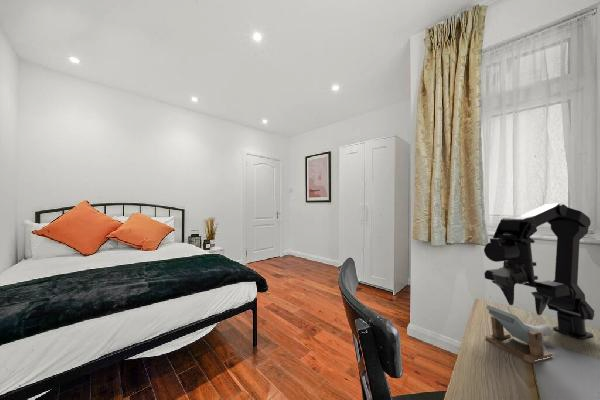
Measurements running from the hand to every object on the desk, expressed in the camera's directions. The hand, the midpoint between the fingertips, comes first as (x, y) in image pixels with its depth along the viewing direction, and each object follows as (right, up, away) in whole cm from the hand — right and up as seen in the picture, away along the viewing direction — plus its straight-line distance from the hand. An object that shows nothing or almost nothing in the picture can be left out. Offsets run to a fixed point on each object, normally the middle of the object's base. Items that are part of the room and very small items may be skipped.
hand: (524, 309), depth 69 cm
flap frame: (-4, -11, -1) cm, 11 cm away
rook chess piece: (+1, -7, 0) cm, 7 cm away
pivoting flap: (-5, -6, -1) cm, 8 cm away
